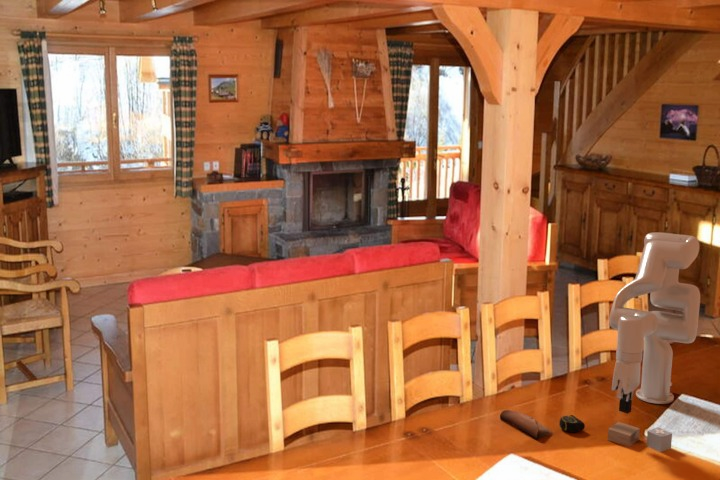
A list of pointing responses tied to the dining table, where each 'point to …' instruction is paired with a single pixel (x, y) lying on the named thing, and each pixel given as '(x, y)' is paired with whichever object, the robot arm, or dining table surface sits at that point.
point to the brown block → (623, 434)
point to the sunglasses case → (526, 424)
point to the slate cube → (659, 439)
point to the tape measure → (571, 424)
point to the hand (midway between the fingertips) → (624, 411)
